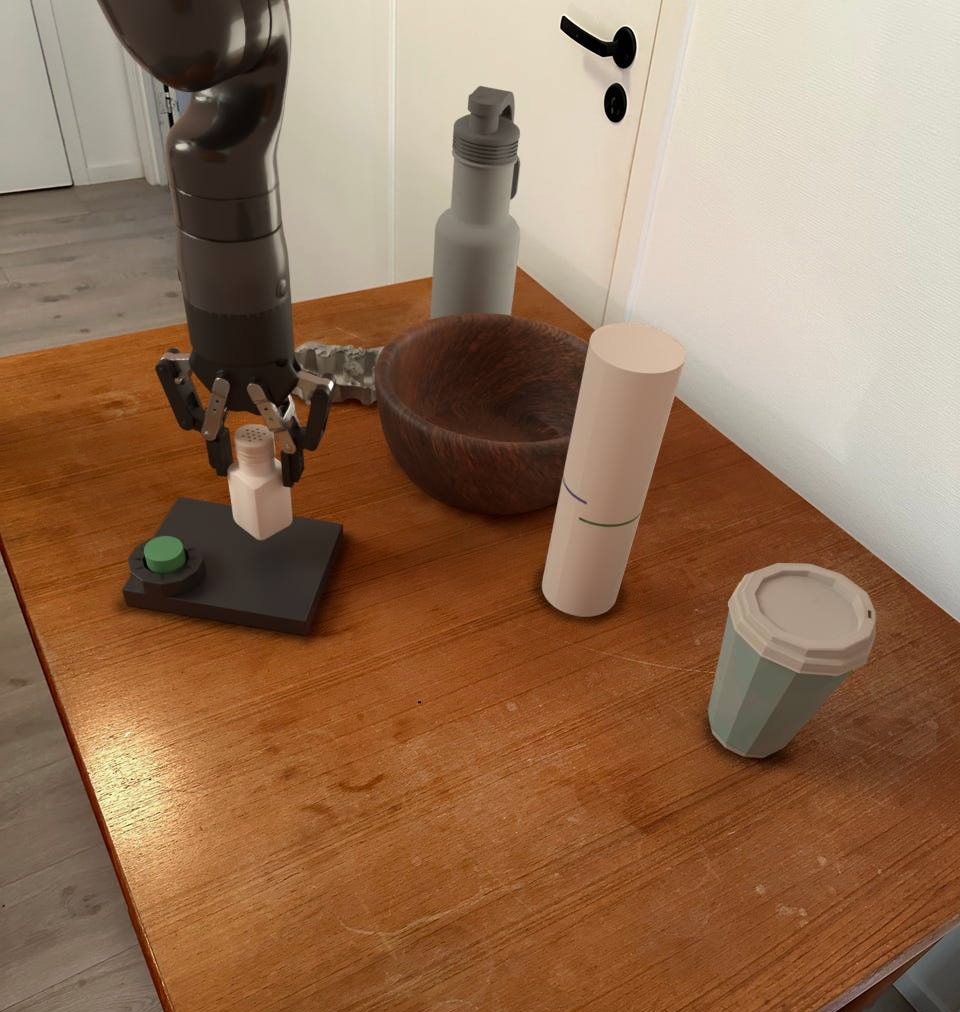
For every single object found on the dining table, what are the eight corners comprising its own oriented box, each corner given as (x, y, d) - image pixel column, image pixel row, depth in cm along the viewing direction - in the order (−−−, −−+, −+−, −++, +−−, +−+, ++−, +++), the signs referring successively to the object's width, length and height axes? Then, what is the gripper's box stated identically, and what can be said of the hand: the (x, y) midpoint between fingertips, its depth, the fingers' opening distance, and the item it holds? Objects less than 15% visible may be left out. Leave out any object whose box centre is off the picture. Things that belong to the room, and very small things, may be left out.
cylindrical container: (576, 553, 88) (630, 313, 69) (632, 593, 85) (705, 353, 66) (526, 585, 84) (569, 340, 66) (583, 628, 81) (645, 384, 62)
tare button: (141, 570, 76) (137, 557, 75) (155, 546, 79) (152, 533, 77) (177, 577, 76) (174, 563, 75) (191, 552, 78) (188, 539, 77)
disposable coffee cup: (675, 758, 72) (731, 632, 61) (690, 663, 79) (742, 534, 68) (807, 795, 71) (888, 672, 60) (810, 694, 78) (883, 569, 67)
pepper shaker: (231, 522, 80) (218, 433, 73) (267, 503, 82) (257, 414, 75) (260, 545, 78) (249, 456, 71) (295, 525, 80) (289, 436, 73)
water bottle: (442, 316, 116) (458, 70, 96) (515, 332, 115) (547, 87, 95) (418, 354, 110) (430, 98, 89) (495, 371, 109) (525, 117, 88)
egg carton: (287, 400, 101) (284, 368, 98) (298, 365, 106) (295, 332, 103) (382, 409, 101) (382, 376, 98) (388, 373, 106) (388, 341, 103)
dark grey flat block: (124, 605, 78) (116, 576, 75) (180, 511, 87) (174, 482, 84) (306, 636, 77) (303, 608, 75) (343, 538, 86) (342, 510, 83)
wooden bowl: (595, 554, 88) (616, 469, 80) (346, 509, 89) (344, 420, 81) (612, 414, 105) (631, 333, 97) (403, 377, 106) (406, 294, 98)
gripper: (348, 276, 66) (351, 464, 78) (158, 245, 66) (191, 437, 79) (321, 325, 61) (329, 518, 73) (116, 292, 61) (158, 489, 74)
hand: (257, 475), depth 76 cm, fingers closed on pepper shaker, 5 cm apart
